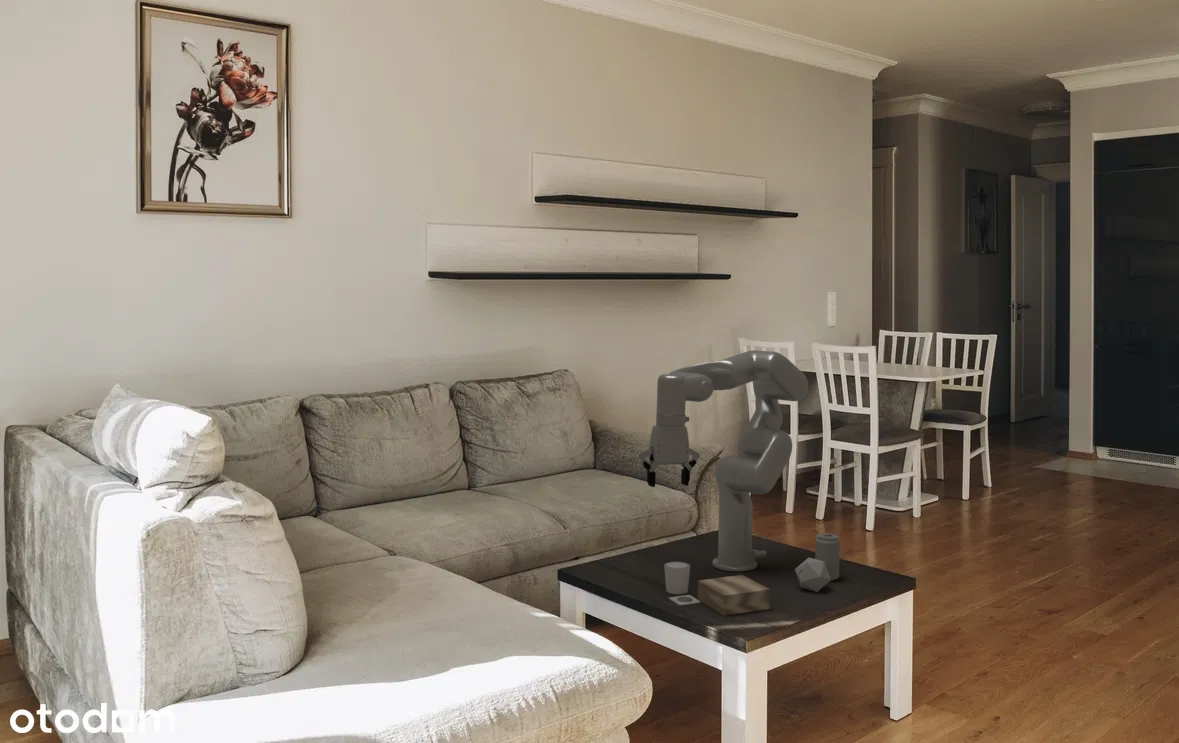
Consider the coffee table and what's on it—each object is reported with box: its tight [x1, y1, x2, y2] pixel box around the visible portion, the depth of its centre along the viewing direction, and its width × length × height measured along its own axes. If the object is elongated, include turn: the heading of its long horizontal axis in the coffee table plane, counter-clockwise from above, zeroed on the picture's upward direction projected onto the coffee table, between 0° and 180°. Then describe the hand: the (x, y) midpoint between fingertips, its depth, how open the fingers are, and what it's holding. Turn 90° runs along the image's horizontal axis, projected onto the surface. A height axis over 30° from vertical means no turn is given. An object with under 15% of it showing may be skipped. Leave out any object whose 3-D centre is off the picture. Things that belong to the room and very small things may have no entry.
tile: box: [668, 594, 702, 607], centre depth 247 cm, size 6×6×1 cm
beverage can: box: [814, 532, 841, 582], centre depth 266 cm, size 6×6×12 cm
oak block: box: [697, 574, 771, 617], centre depth 244 cm, size 13×13×5 cm
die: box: [794, 557, 831, 593], centre depth 257 cm, size 8×9×10 cm
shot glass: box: [663, 561, 691, 595], centre depth 255 cm, size 7×7×7 cm
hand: (668, 485), depth 258 cm, fingers open, 9 cm apart
